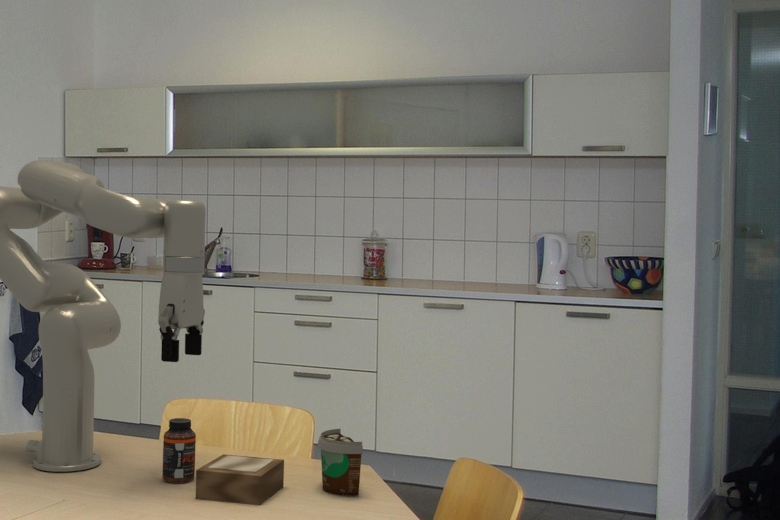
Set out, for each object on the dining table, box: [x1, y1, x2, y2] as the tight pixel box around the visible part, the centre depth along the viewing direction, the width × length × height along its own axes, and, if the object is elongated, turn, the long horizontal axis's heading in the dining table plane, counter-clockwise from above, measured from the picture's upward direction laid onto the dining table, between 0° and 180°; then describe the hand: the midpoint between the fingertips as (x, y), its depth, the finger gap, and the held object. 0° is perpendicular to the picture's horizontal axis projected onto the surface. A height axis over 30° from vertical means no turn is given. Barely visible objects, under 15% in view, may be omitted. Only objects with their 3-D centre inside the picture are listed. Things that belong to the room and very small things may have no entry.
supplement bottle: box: [162, 417, 197, 484], centre depth 175 cm, size 6×6×11 cm
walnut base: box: [195, 454, 285, 506], centre depth 168 cm, size 12×12×5 cm
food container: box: [316, 428, 364, 497], centre depth 171 cm, size 12×6×10 cm, turn 23°
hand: (181, 358), depth 174 cm, fingers open, 9 cm apart
